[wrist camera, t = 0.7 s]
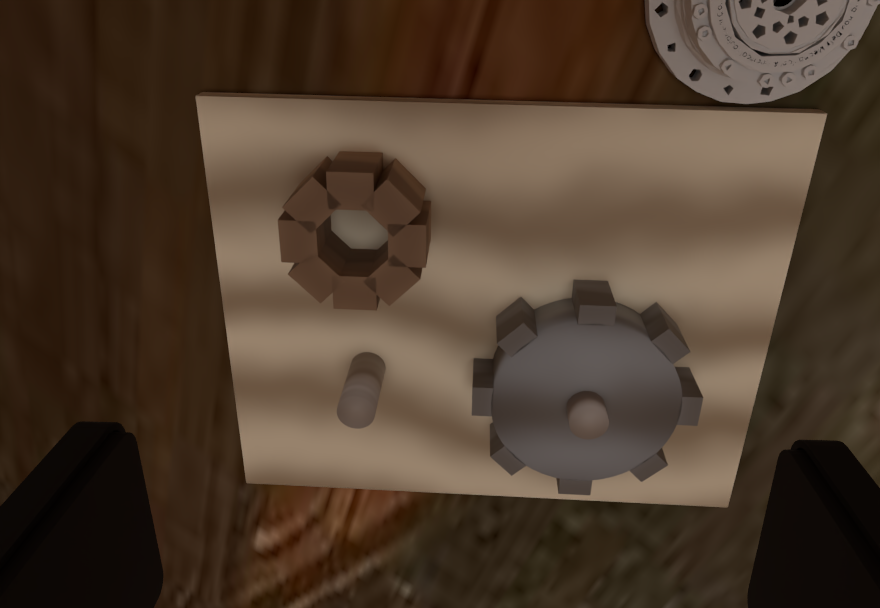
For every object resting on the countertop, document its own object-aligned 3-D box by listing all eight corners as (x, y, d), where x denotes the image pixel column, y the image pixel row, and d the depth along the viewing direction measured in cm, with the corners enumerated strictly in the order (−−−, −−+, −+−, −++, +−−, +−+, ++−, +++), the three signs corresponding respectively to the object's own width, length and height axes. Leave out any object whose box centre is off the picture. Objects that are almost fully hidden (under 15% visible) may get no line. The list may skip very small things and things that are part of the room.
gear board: (202, 91, 36) (158, 116, 32) (818, 109, 35) (872, 137, 30) (250, 472, 47) (223, 535, 42) (722, 496, 46) (751, 563, 41)
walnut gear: (291, 149, 36) (273, 169, 33) (431, 154, 36) (426, 174, 33) (300, 277, 40) (285, 306, 37) (430, 282, 39) (425, 312, 36)
